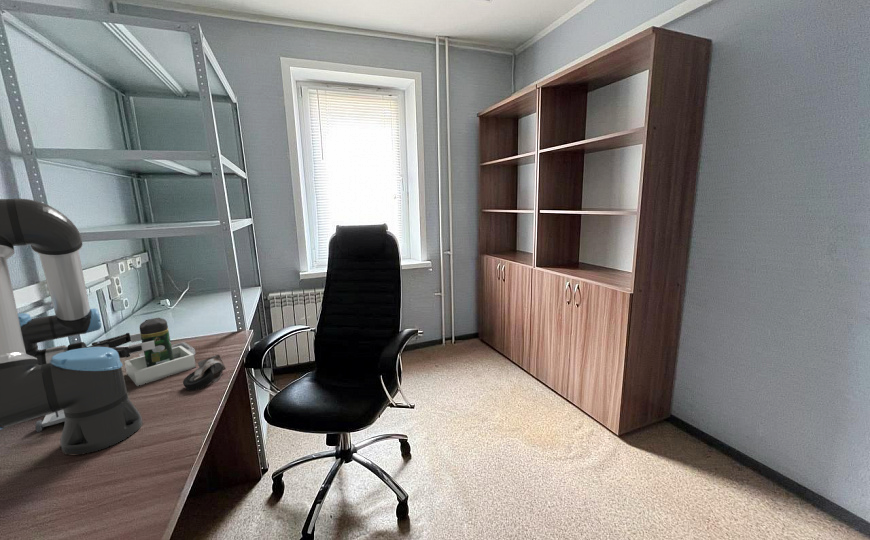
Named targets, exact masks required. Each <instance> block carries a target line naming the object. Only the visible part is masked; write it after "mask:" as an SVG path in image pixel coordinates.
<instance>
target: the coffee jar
mask: <svg viewBox="0 0 870 540" xmlns="http://www.w3.org/2000/svg"><path fill="white" fill-rule="evenodd" d="M139 333H140V334H141V343H144V342H149V341H154V344H155V349H151V350H146V351H143V353H144V355H145V360H146V365H147V368H148V367H151V366H154V365H158V364H161V363H164V362H168V361H171V360H174V357H173V352H172V347H171V345H172V343H171V338H170V337H171V336H170V330H169V325H168V321H167V320H166V319H164V318H161V317H154V318H153V317H152V318H148V319H145V320H144V321H143V322H141V323H140V325H139Z"/></svg>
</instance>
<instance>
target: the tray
mask: <svg viewBox="0 0 870 540" xmlns="http://www.w3.org/2000/svg"><path fill="white" fill-rule="evenodd" d="M172 352H173V355H174V354H176V355H177V354H178V353H180V356H179V358H177V357H175V359H174V360H171V361H168V362H164V363H161V364H158V365H154V366H151V367H148V368H147V365H146V360H145V356H141V357H140V356H138V357H133V358H130V359H127V360H124V365H125V370H126V375H127V376H128V377H129V378H130V379H131V381H132V382H133V383H134V384H135V386H136V387H139V385H140V386H142V385H143V386H144V385H145V383H146V384H148V383H151V382H154V381H158V380H161V379H164V378H168V377H171V376H173V375H177V374H180V373H183V372H185V371H189V370H192V369H195V368H197V364H196V359H195V355H194V354H192V353H191V352H190V351H188V350H187V349H185V348H184V347H182V346H177V347H174V348H172ZM174 356H175V355H174ZM170 375H171V376H170ZM167 376H168V377H167Z"/></svg>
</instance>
